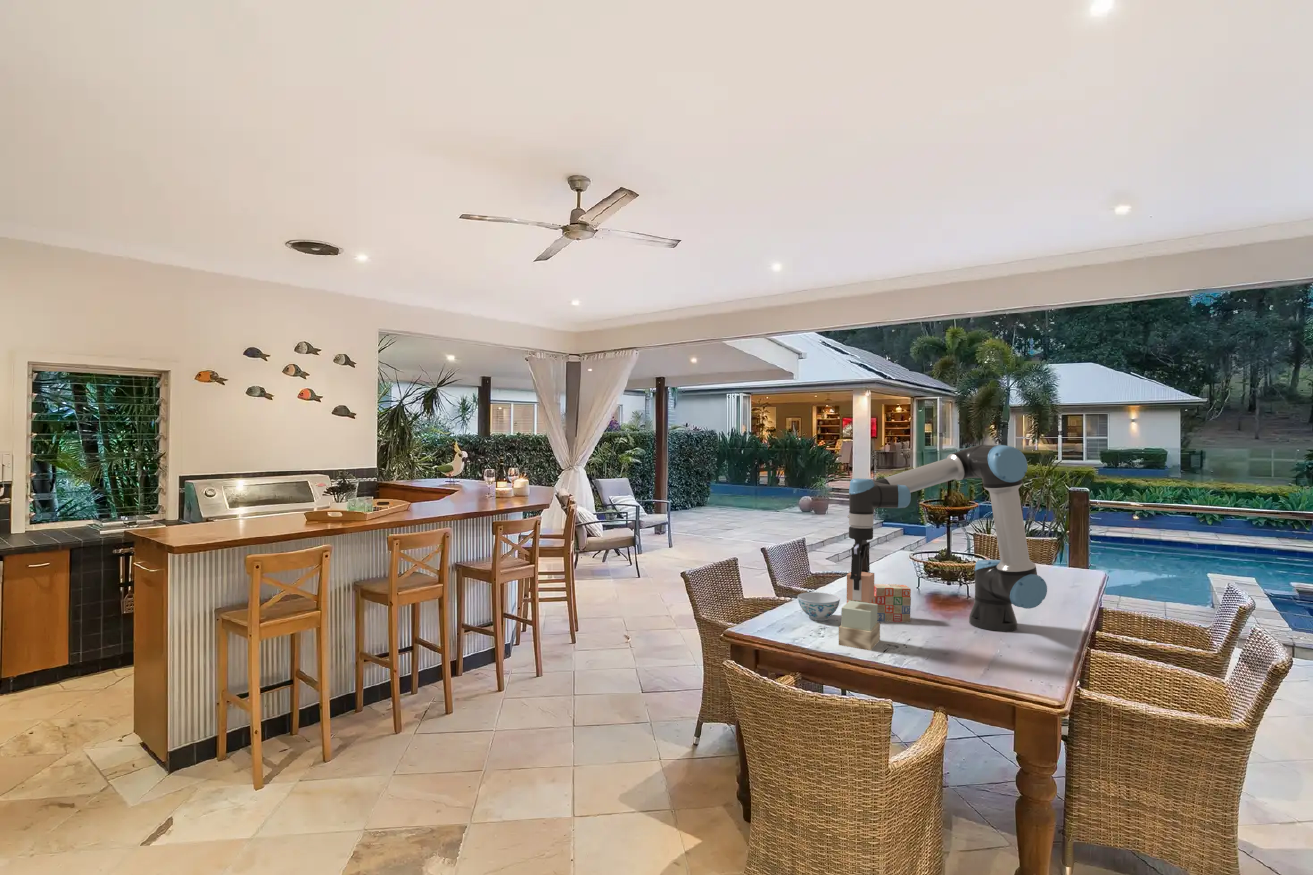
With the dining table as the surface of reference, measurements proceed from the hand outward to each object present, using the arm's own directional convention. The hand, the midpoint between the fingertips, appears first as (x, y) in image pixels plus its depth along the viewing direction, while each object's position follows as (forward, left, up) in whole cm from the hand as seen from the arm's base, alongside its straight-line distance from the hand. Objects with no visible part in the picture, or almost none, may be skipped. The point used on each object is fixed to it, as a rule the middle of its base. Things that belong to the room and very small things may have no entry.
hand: (860, 597), depth 213 cm
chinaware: (+20, -20, -15) cm, 32 cm away
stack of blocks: (+1, -31, -15) cm, 35 cm away
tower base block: (0, 0, -15) cm, 15 cm away
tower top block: (0, 0, -9) cm, 9 cm away
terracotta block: (0, 0, 0) cm, 0 cm away
